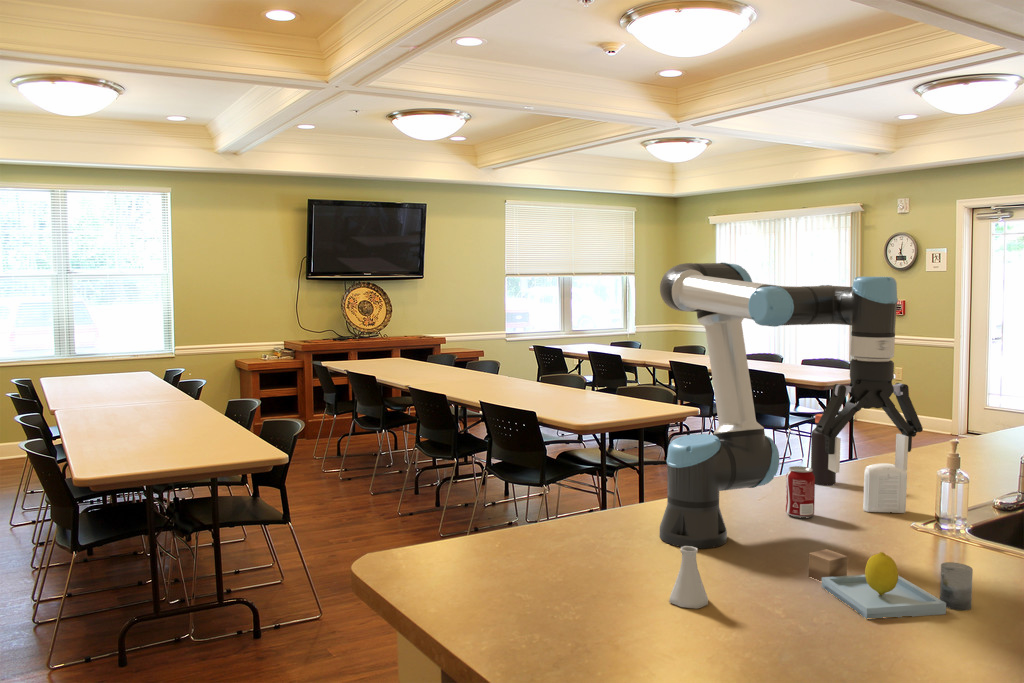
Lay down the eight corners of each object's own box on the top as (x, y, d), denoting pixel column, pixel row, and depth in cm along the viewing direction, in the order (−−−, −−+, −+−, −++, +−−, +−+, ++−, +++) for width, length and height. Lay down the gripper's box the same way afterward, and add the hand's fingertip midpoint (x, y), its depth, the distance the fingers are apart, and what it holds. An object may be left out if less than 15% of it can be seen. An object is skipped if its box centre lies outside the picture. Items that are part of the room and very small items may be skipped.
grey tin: (952, 611, 141) (953, 572, 141) (933, 600, 146) (934, 563, 146) (978, 609, 142) (979, 571, 142) (958, 598, 147) (959, 561, 146)
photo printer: (902, 509, 205) (903, 462, 204) (908, 514, 201) (910, 465, 200) (860, 508, 206) (861, 461, 205) (866, 513, 202) (867, 465, 201)
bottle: (839, 485, 230) (840, 417, 228) (815, 485, 230) (816, 417, 229) (830, 480, 237) (831, 413, 235) (807, 480, 237) (808, 413, 235)
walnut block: (829, 586, 154) (829, 560, 154) (808, 577, 158) (808, 553, 158) (846, 581, 156) (847, 556, 156) (826, 573, 161) (826, 549, 160)
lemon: (895, 591, 148) (896, 549, 148) (899, 602, 143) (900, 558, 142) (863, 587, 150) (864, 546, 149) (866, 598, 145) (866, 555, 144)
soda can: (818, 519, 197) (819, 471, 196) (790, 519, 197) (791, 471, 196) (808, 511, 204) (809, 465, 203) (782, 511, 204) (782, 465, 203)
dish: (866, 619, 138) (866, 608, 138) (821, 587, 153) (821, 577, 153) (945, 614, 140) (946, 602, 140) (893, 582, 155) (894, 572, 155)
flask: (700, 612, 142) (701, 557, 141) (662, 604, 146) (662, 550, 145) (714, 599, 148) (714, 546, 147) (677, 591, 152) (677, 540, 151)
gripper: (819, 362, 144) (815, 476, 146) (946, 360, 147) (941, 472, 149) (799, 357, 152) (795, 466, 153) (921, 355, 155) (916, 463, 156)
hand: (867, 470), depth 151 cm, fingers open, 13 cm apart
